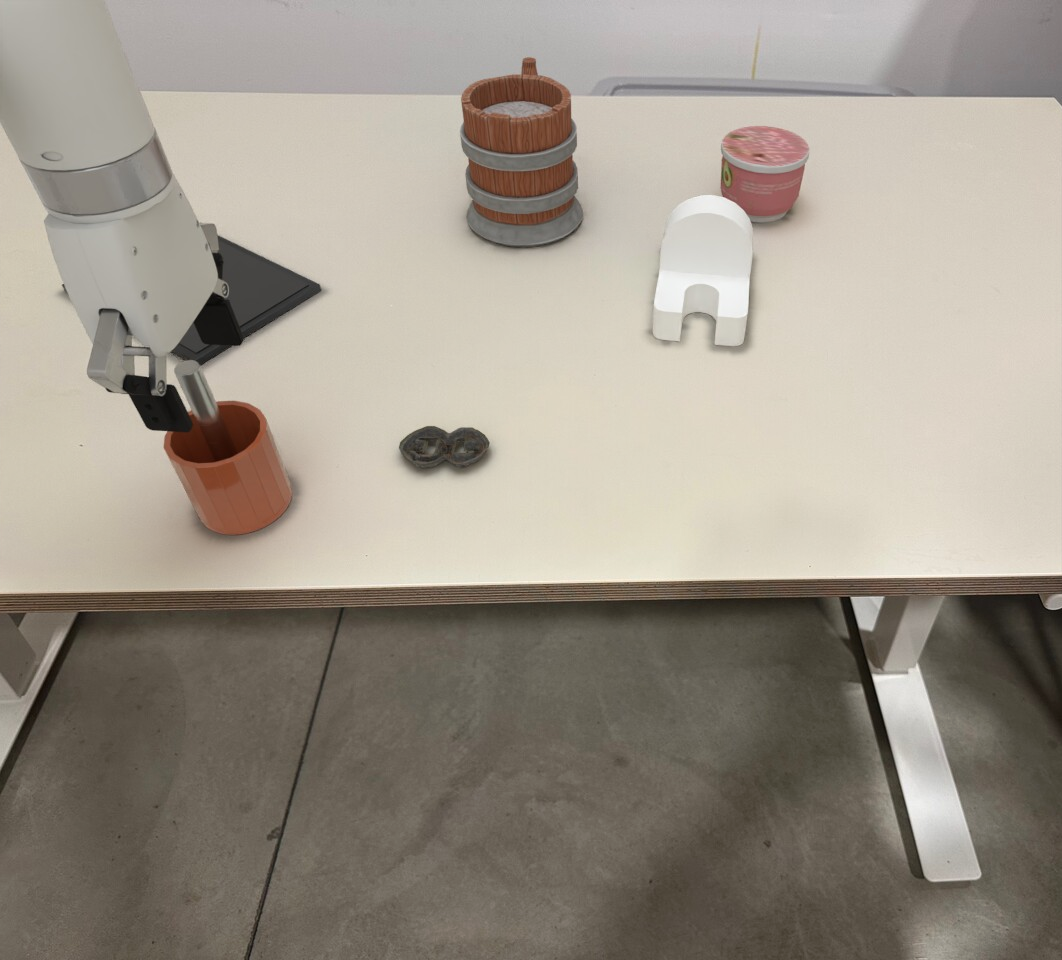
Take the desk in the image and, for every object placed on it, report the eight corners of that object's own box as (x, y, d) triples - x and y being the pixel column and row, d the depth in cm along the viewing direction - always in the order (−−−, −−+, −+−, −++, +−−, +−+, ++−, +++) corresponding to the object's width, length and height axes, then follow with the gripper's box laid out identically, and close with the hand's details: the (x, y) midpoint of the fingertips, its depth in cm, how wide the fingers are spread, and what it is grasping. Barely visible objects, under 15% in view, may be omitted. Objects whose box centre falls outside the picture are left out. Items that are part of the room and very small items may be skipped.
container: (725, 180, 116) (731, 120, 110) (805, 193, 114) (815, 132, 108) (707, 220, 109) (712, 158, 103) (792, 234, 107) (802, 172, 101)
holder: (239, 549, 72) (207, 482, 66) (178, 508, 75) (142, 440, 69) (311, 493, 77) (287, 425, 71) (251, 456, 79) (223, 388, 74)
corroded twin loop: (487, 472, 79) (486, 464, 78) (396, 472, 78) (394, 463, 78) (493, 433, 82) (492, 425, 81) (405, 432, 82) (403, 424, 81)
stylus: (242, 507, 75) (184, 378, 64) (227, 497, 75) (168, 369, 65) (259, 494, 76) (205, 365, 65) (245, 485, 76) (189, 356, 66)
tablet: (197, 367, 88) (194, 359, 87) (64, 290, 96) (60, 283, 95) (321, 290, 97) (319, 283, 96) (190, 226, 105) (188, 220, 104)
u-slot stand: (651, 338, 93) (655, 247, 85) (667, 245, 105) (672, 158, 97) (743, 347, 92) (756, 256, 84) (748, 252, 104) (760, 165, 97)
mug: (457, 246, 104) (440, 120, 93) (483, 166, 117) (470, 47, 106) (578, 251, 103) (574, 125, 93) (590, 171, 117) (588, 52, 106)
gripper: (107, 103, 60) (196, 311, 73) (-43, 245, 48) (94, 463, 61) (216, 108, 60) (287, 316, 72) (92, 252, 48) (202, 470, 61)
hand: (199, 383), depth 67 cm, fingers open, 9 cm apart
